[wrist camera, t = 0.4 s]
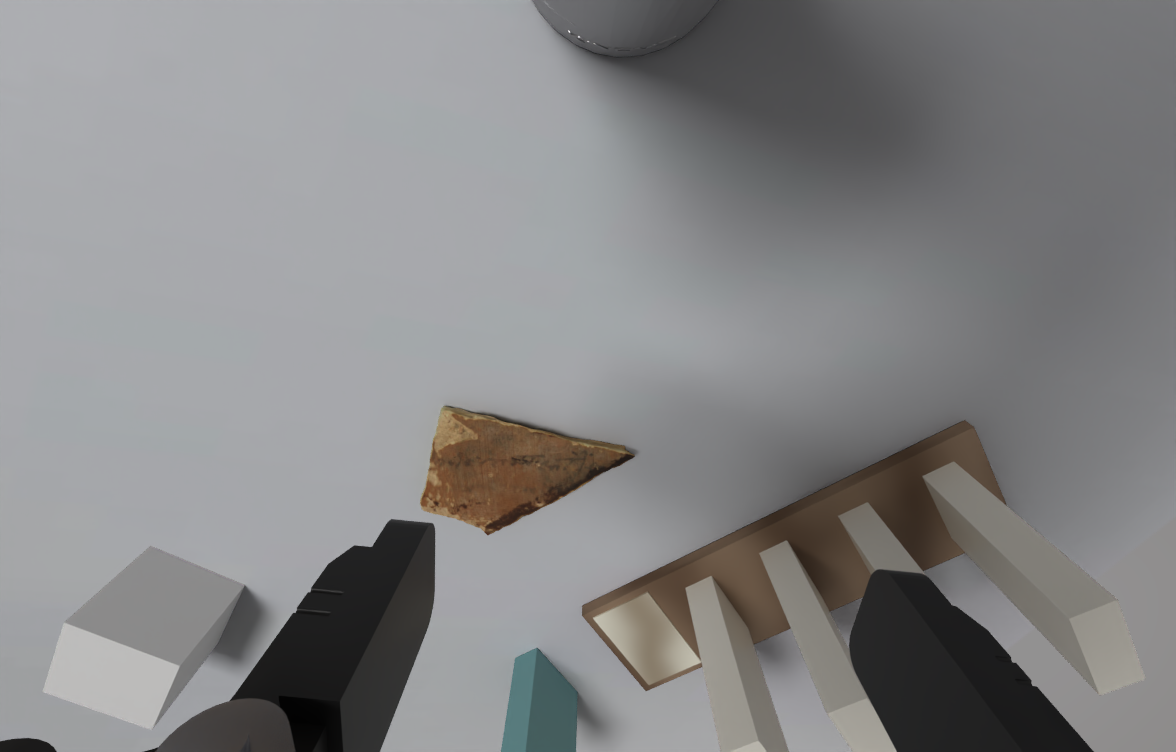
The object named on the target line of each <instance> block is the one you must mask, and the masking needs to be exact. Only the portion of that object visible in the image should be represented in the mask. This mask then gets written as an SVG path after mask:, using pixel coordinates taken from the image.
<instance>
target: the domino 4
mask: <svg viewBox="0 0 1176 752" xmlns="http://www.w3.org/2000/svg"><path fill="white" fill-rule="evenodd" d="M922 477H923V479H924V481H925V484H926V486H927V488H928V490H929V492H930V494H931V496H932V498H933V500H934V502H935V505H936V507H937V509H938V511H939V513H940V515H941V517H942V519H943V521H944V524H945V526H946V528H947V530H948V532H949V534H950V536H951V538H952V539H953V540H954V541H955V542H956V543H957V544H958V546H959V547H960V548H961V549H962V550H963V551H964V552H965V553H966V554H967V555H968V556H969V557H970V558H971V559H972V560H973V561H974V562H975V564H976V565H977V566H978V567H979V568H980V569H981V570H982V571H983V572H984V573H985V574H986V575H987V576H988V577H989V578H990V579H991V581H992V582H993V583H994V584H995V585H996V586H997V587H998V588H999V589H1000V590H1001V591H1002V592H1003V593H1004V594H1005V595H1006V596H1007V598H1008V599H1009V600H1010V601H1011V602H1012V603H1013V604H1014V605H1015V606H1016V607H1017V608H1018V609H1019V610H1020V611H1021V612H1022V613H1023V615H1024V616H1025V617H1026V618H1027V619H1028V620H1029V621H1030V622H1031V623H1032V624H1033V625H1034V626H1035V627H1036V628H1037V629H1038V630H1039V632H1041V634H1042V635H1043V636H1044V637H1045V638H1046V639H1047V640H1048V641H1049V642H1050V643H1051V644H1052V645H1053V646H1054V647H1055V648H1056V649H1057V651H1058V652H1059V653H1060V654H1061V655H1062V656H1063V657H1064V658H1065V659H1066V660H1067V661H1068V662H1069V663H1070V664H1071V665H1072V667H1074V668H1075V670H1076V671H1077V672H1078V673H1079V674H1080V675H1081V676H1082V677H1083V678H1084V679H1085V680H1086V681H1087V682H1088V684H1089V685H1090V686H1091V687H1092V688H1093V689H1094V690H1095V691H1096V692H1097V693H1098V694H1099V695H1103V694H1106V693H1109V692H1112V691H1114V690H1117V689H1120V688H1123V687H1126V686H1128V685H1131V684H1134V683H1137V682H1140V681H1142V680H1145V679H1146V678H1145V676H1144V673H1143V670H1142V667H1141V664H1140V661H1139V659H1138V656H1137V653H1136V651H1135V647H1134V645H1133V641H1132V639H1131V636H1130V633H1129V630H1128V627H1127V625H1126V621H1125V619H1124V616H1123V613H1122V610H1121V607H1120V604H1119V602H1118V599H1116V598H1115V597H1114V596H1113V595H1112V594H1111V593H1109V592H1108V591H1107V590H1106V589H1105V588H1103V587H1102V586H1101V585H1100V584H1099V583H1097V582H1096V581H1095V580H1094V579H1093V578H1092V577H1090V576H1089V575H1088V574H1087V573H1086V572H1084V571H1083V570H1082V569H1081V568H1080V567H1079V566H1077V565H1076V564H1075V563H1074V562H1073V561H1071V560H1070V559H1069V558H1068V557H1067V556H1065V555H1064V554H1063V553H1062V552H1061V551H1060V550H1058V549H1057V548H1056V547H1055V546H1054V545H1052V544H1051V543H1050V542H1049V541H1048V540H1047V539H1045V538H1044V537H1043V536H1042V535H1041V534H1039V533H1038V532H1037V531H1036V530H1035V529H1033V528H1032V527H1031V526H1030V525H1029V524H1028V523H1026V522H1025V521H1024V520H1023V519H1022V518H1020V517H1019V516H1018V515H1017V514H1016V513H1014V512H1013V511H1012V510H1011V509H1010V508H1009V507H1007V506H1006V505H1005V504H1004V503H1003V502H1001V501H1000V500H999V499H998V498H997V497H996V496H994V495H993V494H992V493H991V492H990V491H988V490H987V489H986V488H985V487H984V486H982V485H981V484H980V483H979V482H978V481H977V480H975V479H974V478H973V477H972V476H971V475H969V474H968V473H967V472H966V471H965V470H963V469H962V468H961V467H960V466H959V465H958V464H956V463H955V462H951V463H949V464H947V465H945V466H943V467H941V468H939V469H937V470H934V471H932V472H930V473H928V474H926V475H924V476H922Z"/></svg>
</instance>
